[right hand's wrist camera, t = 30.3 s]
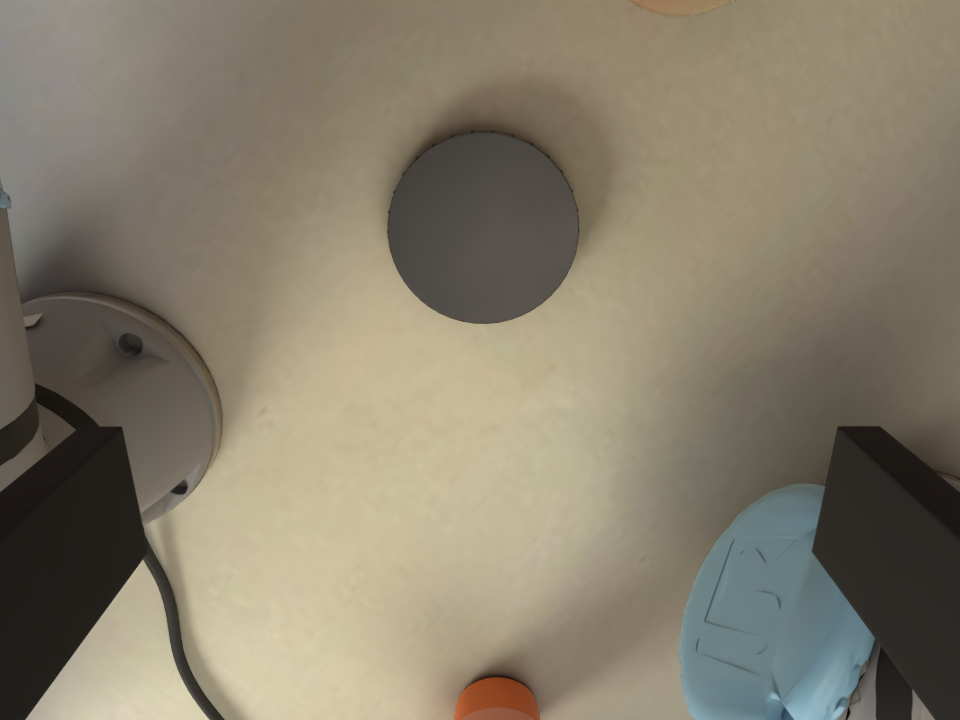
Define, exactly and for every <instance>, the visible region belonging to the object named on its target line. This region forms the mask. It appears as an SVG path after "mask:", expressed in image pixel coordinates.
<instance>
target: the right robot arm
mask: <svg viewBox="0 0 960 720" xmlns="http://www.w3.org/2000/svg"><path fill="white" fill-rule="evenodd" d="M7 208H11V201H10V198H9V195H7V194H6V193H5V192H4V191H3V188H2V184H1V180H0V720H25V719H26V718H27V716H28V715H29V714H30V712H31V711H32V710H33V708H34V707H35V706H36V704H37V703H38V701H39V700H40V699H41V697H42V696H43V695H44V693H45V692H46V691H47V689H48V688H49V686H50V685H51V684H52V682H53V681H54V680H55V678H56V677H57V676H58V674H59V673H60V671H61V670H62V669H63V667H64V666H65V665H66V663H67V662H68V661H69V659H70V658H71V656H72V655H73V654H74V652H75V651H76V650H77V648H78V647H79V646H80V644H81V643H82V642H83V640H84V639H85V637H86V636H87V635H88V633H89V632H90V631H91V629H92V628H93V627H94V625H95V624H96V622H97V621H98V620H99V618H100V617H101V616H102V614H103V613H104V612H105V610H106V609H107V607H108V606H109V605H110V603H111V602H112V601H113V599H114V598H115V597H116V595H117V594H118V592H119V591H120V590H121V588H122V587H123V586H124V584H125V583H126V582H127V580H128V579H129V577H130V576H131V575H132V573H133V572H134V571H135V569H136V568H137V567H138V565H139V564H140V562H141V561H142V560H144V562H145V563H146V565H147V567H148V569H149V570H150V572H151V574H152V575H153V577H154V579H155V581H156V583H157V585H158V588H159V590H160V593H161V596H162V599H163V603H164V607H165V612H166V617H167V623H168V630H169V637H170V643H171V648H172V652H173V656H174V660H175V663H176V666H177V668H178V671H179V673H180V675H181V678H182V680H183V682H184V684H185V685H186V687H187V689H188V691H189V692H190V694H191V695H192V697H193V698H194V700H195V701H196V703H197V704H198V706H199V707H200V708H201V710H202V711H203V712H204V713H205V715H206V716H207V717H208V718H209V720H224V719H223V718H222V716H221V715H220V714H219V713H218V711H217V710H216V709H215V708H214V706H213V705H212V704H211V703H210V701H209V700H208V698H207V697H206V696H205V694H204V693H203V691H202V690H201V688H200V687H199V685H198V683H197V681H196V680H195V678H194V676H193V674H192V672H191V670H190V667H189V665H188V663H187V660H186V657H185V653H184V650H183V646H182V641H181V635H180V628H179V621H178V614H177V608H176V603H175V599H174V595H173V592H172V589H171V586H170V583H169V581H168V578H167V576H166V574H165V572H164V570H163V568H162V566H161V565H160V563H159V561H158V559H157V558H156V556H155V554H154V552H153V550H152V548H151V546H150V544H149V542H148V540H147V538H146V536H145V533H144V528H143V525H145V524H147V523H149V522H151V521H153V520H154V519H156V518H158V517H160V516H162V515H164V514H166V513H167V512H169V511H170V510H172V509H173V508H174V507H176V506H177V505H178V504H179V503H180V502H182V501H183V500H184V499H185V498H186V497H187V496H188V495H189V494H190V493H191V492H192V491H193V490H194V489H195V488H196V487H197V485H198V484H199V483H200V481H201V480H202V479H203V477H204V476H205V475H206V473H207V472H208V470H209V469H210V467H211V465H212V463H213V461H214V459H215V457H216V454H217V452H218V449H219V445H220V440H221V433H222V413H221V406H220V401H219V397H218V393H217V391H216V388H215V385H214V382H213V380H212V378H211V376H210V374H209V372H208V370H207V368H206V367H205V365H204V363H203V362H202V360H201V359H200V357H199V356H198V355H197V353H196V352H195V351H194V349H193V348H192V347H191V346H190V345H189V343H188V342H187V341H186V340H185V339H184V338H183V337H182V336H181V335H180V334H178V333H177V332H176V331H175V330H174V329H173V328H171V327H170V326H169V325H168V324H166V323H165V322H164V321H162V320H161V319H159V318H158V317H156V316H155V315H153V314H151V313H150V312H148V311H146V310H144V309H142V308H140V307H138V306H136V305H134V304H131V303H129V302H126V301H123V300H120V299H117V298H114V297H110V296H106V295H101V294H95V293H87V292H63V293H55V294H49V295H45V296H42V297H38V298H35V299H33V300H30V301H28V302H25V303H23V304H21V300H20V294H19V288H18V282H17V276H16V269H15V262H14V255H13V249H12V242H11V235H10V228H9V221H8V214H7ZM812 553H813V554H814V556H815V557H816V558H817V560H818V561H819V562H820V564H821V565H822V567H823V568H824V569H825V571H826V572H827V573H828V575H829V576H830V577H831V579H832V580H833V582H834V583H835V584H836V586H837V587H838V588H839V590H840V591H841V592H842V594H843V595H844V597H845V598H846V599H847V601H848V602H849V603H850V605H851V606H852V607H853V609H854V610H855V612H856V613H857V614H858V616H859V617H860V618H861V620H862V621H863V622H864V624H865V625H866V627H867V628H868V629H869V631H870V632H871V633H872V635H873V636H874V637H875V639H876V640H877V642H878V643H879V644H880V646H881V647H882V648H883V650H884V651H885V652H886V654H887V655H888V656H889V658H890V659H891V661H892V662H893V663H894V665H895V666H896V667H897V669H898V670H899V671H900V673H901V674H902V676H903V677H904V678H905V680H906V681H907V682H908V684H909V685H910V686H911V688H912V689H913V691H914V692H915V693H916V695H917V696H918V697H919V699H920V700H921V701H922V703H923V704H924V706H925V707H926V708H927V710H928V711H929V712H930V714H931V715H932V716H933V718H934V719H935V720H960V492H959V491H958V490H957V489H955V488H954V487H953V486H952V485H951V484H949V483H948V482H947V481H946V480H944V479H943V478H942V477H941V476H940V475H938V474H937V473H936V472H935V471H933V470H932V469H931V468H930V467H929V466H927V465H926V464H925V463H924V462H922V461H921V460H920V459H919V458H918V457H916V456H915V455H914V454H913V453H911V452H910V451H909V450H908V449H907V448H905V447H904V446H903V445H902V444H900V443H899V442H898V441H897V440H896V439H894V438H893V437H892V436H891V435H889V434H888V433H887V432H886V431H885V430H883V429H882V428H881V427H880V426H838V428H837V433H836V438H835V443H834V447H833V452H832V457H831V462H830V466H829V471H828V476H827V481H826V485H825V490H824V495H823V500H822V504H821V509H820V514H819V519H818V524H817V528H816V533H815V538H814V543H813V547H812Z"/></svg>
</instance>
